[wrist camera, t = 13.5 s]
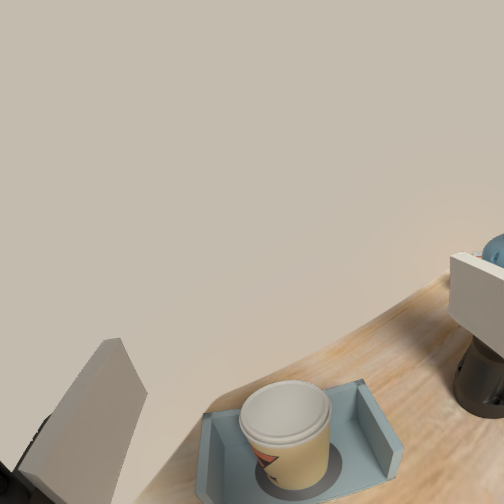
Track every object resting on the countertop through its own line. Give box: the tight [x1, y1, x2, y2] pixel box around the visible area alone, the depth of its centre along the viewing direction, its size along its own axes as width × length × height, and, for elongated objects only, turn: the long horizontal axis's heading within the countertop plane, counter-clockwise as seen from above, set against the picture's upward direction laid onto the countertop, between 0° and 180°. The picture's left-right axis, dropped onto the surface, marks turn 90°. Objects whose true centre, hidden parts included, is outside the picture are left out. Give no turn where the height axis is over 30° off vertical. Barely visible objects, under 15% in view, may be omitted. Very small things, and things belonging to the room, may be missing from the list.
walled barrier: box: [195, 379, 404, 504], centre depth 28 cm, size 21×13×7 cm, turn 93°
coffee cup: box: [239, 380, 332, 490], centre depth 27 cm, size 9×9×12 cm
